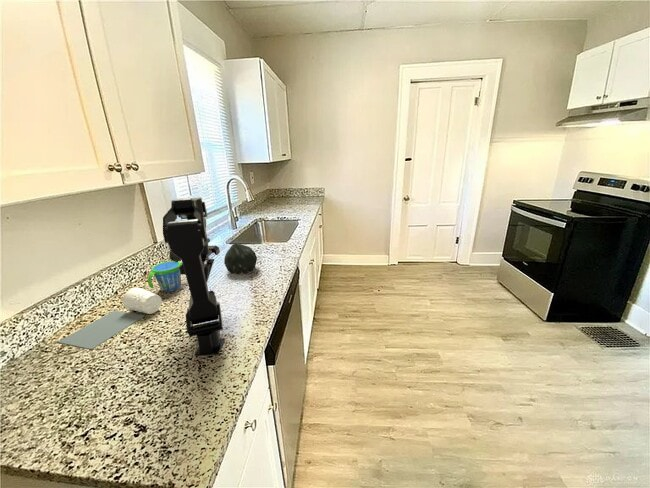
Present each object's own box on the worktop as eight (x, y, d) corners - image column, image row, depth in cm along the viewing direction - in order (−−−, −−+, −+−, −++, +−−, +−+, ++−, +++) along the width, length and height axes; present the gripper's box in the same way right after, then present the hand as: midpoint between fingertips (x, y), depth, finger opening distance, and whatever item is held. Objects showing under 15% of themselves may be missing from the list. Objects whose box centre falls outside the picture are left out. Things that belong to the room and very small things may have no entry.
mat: (145, 317, 97) (145, 315, 97) (92, 351, 80) (91, 349, 80) (115, 312, 101) (114, 310, 100) (58, 344, 84) (57, 341, 84)
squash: (259, 252, 140) (236, 233, 133) (265, 263, 127) (239, 243, 120) (240, 272, 140) (215, 255, 132) (243, 286, 127) (216, 267, 119)
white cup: (139, 316, 93) (119, 309, 97) (160, 314, 101) (141, 308, 104) (145, 293, 94) (125, 287, 97) (165, 292, 101) (146, 287, 105)
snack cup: (157, 299, 108) (152, 275, 104) (145, 292, 114) (139, 269, 110) (195, 284, 120) (191, 262, 116) (182, 278, 125) (178, 257, 122)
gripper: (184, 231, 96) (192, 272, 101) (155, 248, 79) (166, 297, 84) (216, 229, 97) (223, 271, 102) (195, 246, 79) (204, 295, 84)
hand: (205, 282), depth 93 cm, fingers closed
